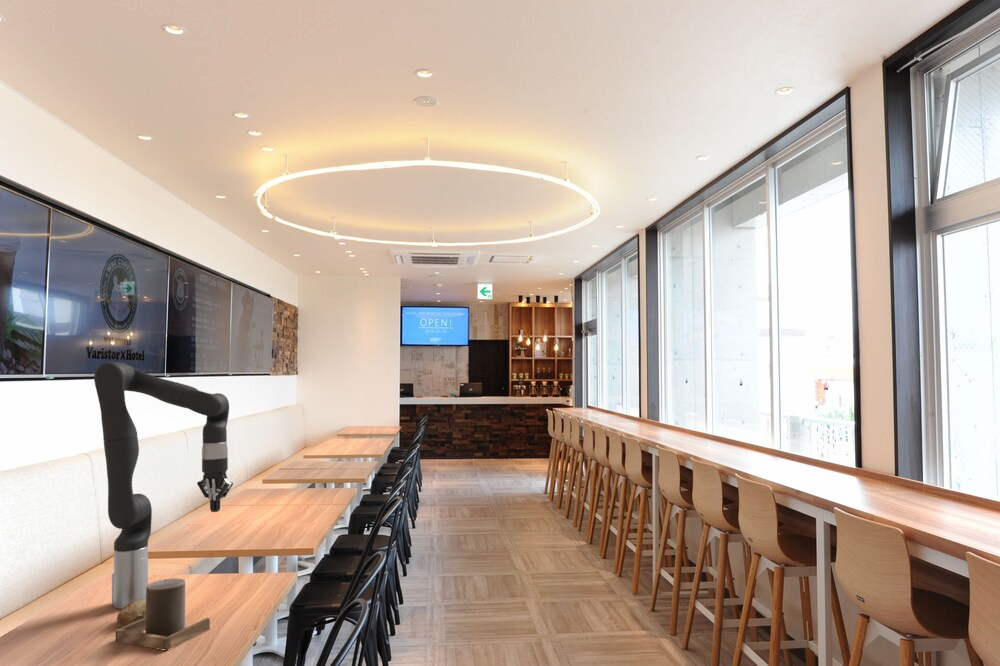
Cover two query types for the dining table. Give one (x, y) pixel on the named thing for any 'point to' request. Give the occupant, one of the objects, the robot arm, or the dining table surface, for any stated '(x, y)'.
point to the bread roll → (132, 613)
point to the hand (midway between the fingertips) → (215, 511)
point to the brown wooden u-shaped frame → (136, 637)
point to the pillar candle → (165, 607)
